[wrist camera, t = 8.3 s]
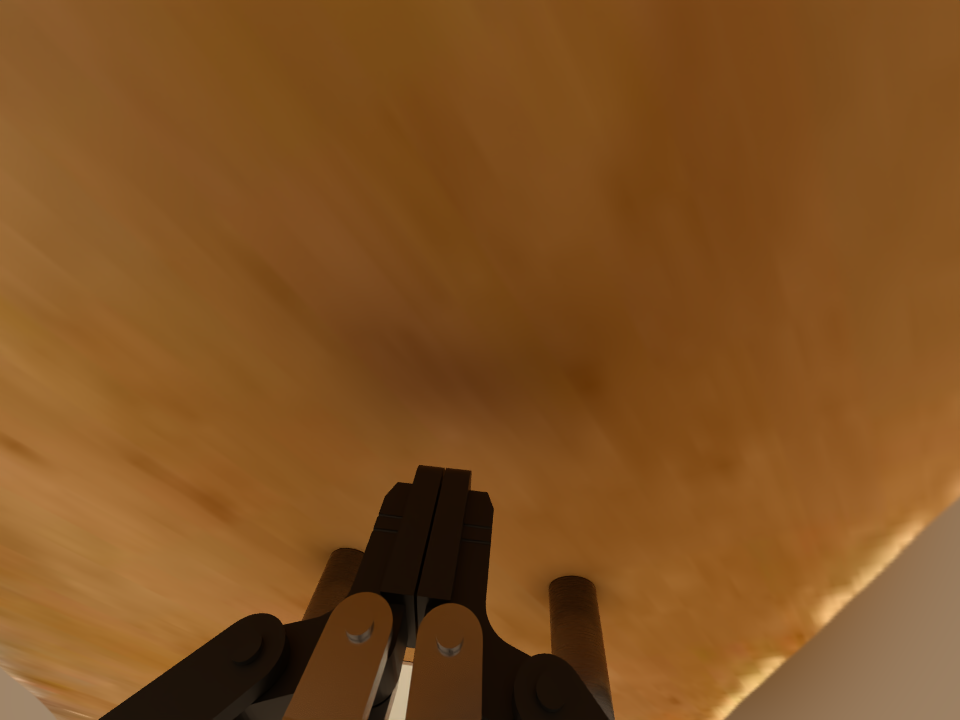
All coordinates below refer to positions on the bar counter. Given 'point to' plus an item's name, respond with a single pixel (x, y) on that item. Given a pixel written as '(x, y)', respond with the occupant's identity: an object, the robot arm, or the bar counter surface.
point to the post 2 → (580, 635)
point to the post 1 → (334, 582)
